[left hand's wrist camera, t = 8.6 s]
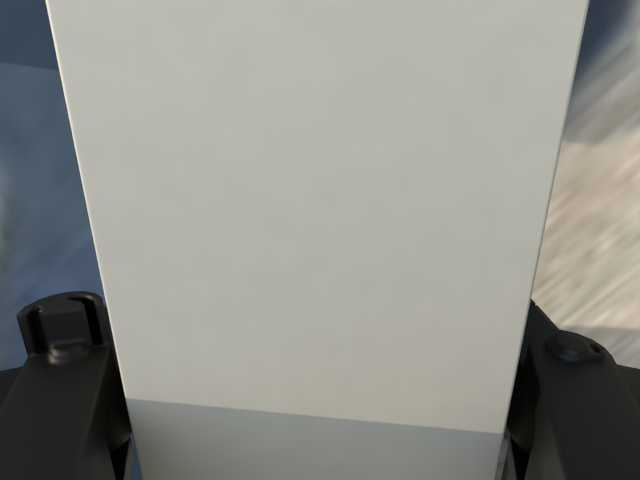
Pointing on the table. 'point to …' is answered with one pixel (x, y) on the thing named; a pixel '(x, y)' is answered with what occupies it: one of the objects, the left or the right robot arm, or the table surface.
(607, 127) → the table surface
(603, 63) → the table surface
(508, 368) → the bar
